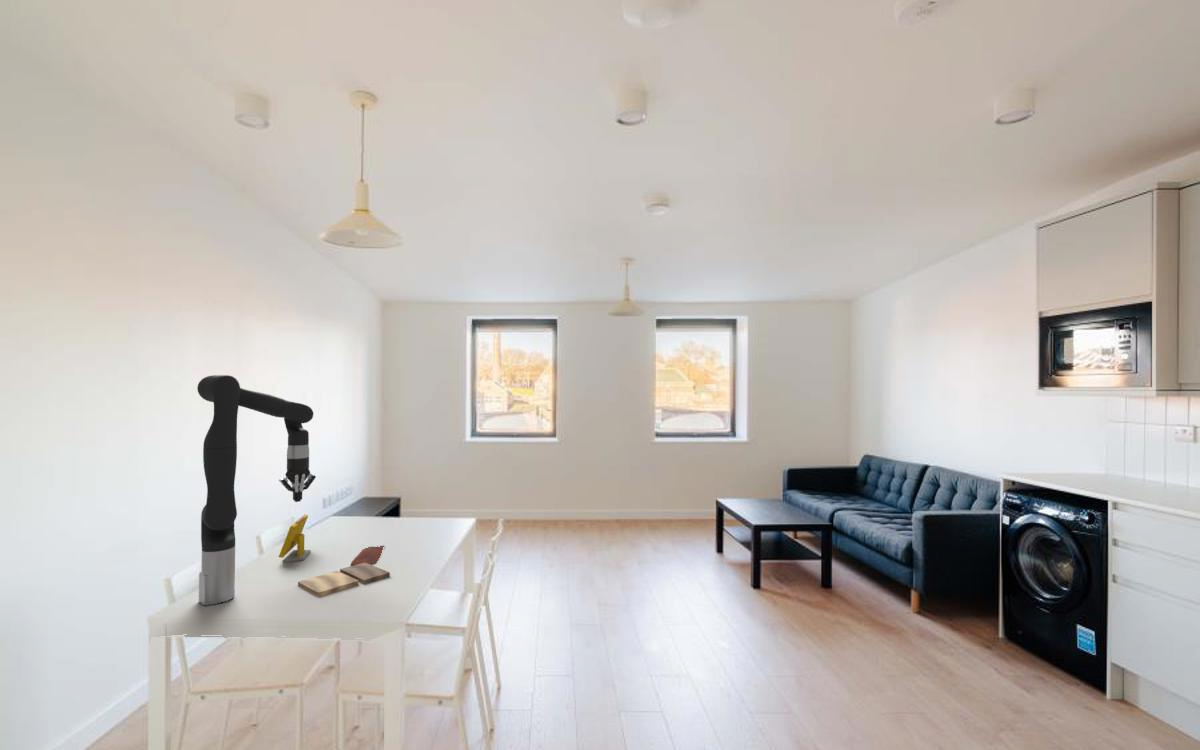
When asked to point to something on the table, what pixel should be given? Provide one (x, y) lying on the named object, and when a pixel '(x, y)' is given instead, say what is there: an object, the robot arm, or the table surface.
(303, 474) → the robot arm
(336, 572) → the light wood board
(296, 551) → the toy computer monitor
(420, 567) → the table surface
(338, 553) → the table surface
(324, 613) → the table surface
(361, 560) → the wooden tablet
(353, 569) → the walnut board
